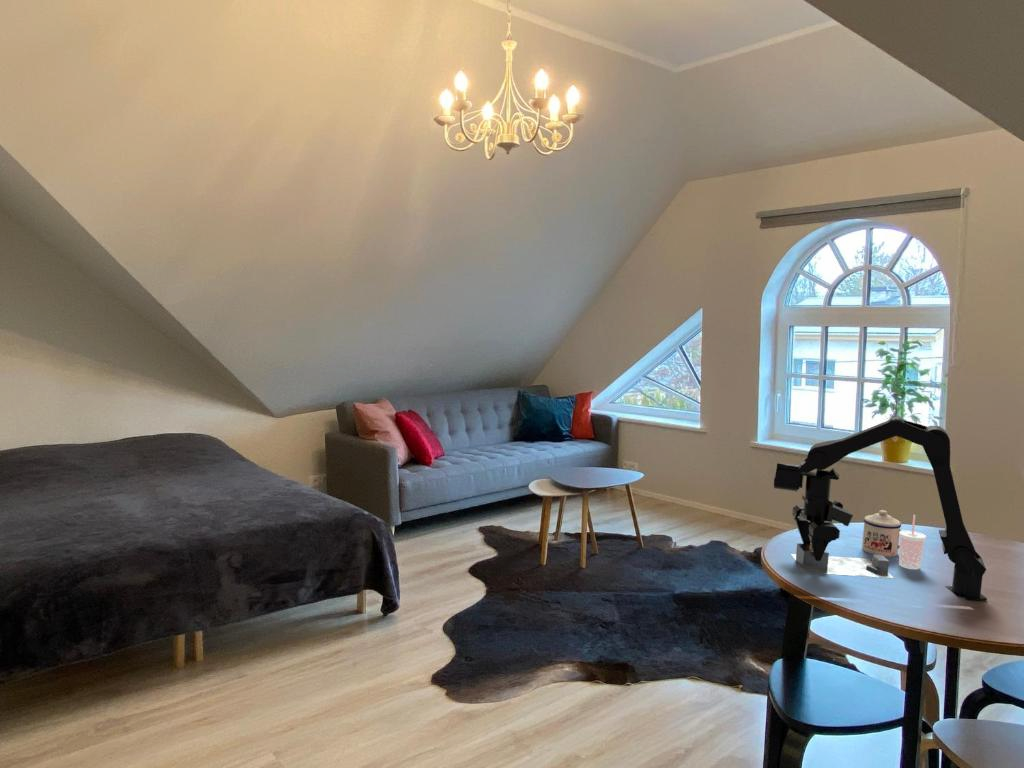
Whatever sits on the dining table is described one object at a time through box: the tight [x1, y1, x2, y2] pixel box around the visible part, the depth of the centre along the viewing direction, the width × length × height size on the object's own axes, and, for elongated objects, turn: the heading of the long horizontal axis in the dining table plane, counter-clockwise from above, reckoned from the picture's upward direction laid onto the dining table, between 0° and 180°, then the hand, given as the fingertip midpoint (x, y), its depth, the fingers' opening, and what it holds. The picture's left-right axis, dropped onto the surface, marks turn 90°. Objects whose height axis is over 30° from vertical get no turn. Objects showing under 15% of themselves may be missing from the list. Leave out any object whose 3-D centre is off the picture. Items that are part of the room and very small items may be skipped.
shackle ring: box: [795, 542, 830, 570], centre depth 188 cm, size 6×6×4 cm
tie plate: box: [790, 553, 895, 579], centre depth 189 cm, size 13×21×4 cm, turn 85°
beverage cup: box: [898, 514, 927, 570], centre depth 189 cm, size 6×6×14 cm
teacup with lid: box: [861, 509, 904, 557], centre depth 200 cm, size 12×9×12 cm
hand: (812, 554), depth 188 cm, fingers open, 9 cm apart
